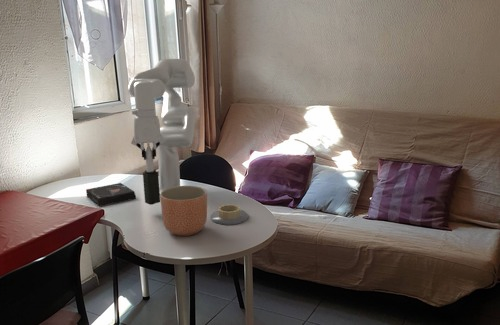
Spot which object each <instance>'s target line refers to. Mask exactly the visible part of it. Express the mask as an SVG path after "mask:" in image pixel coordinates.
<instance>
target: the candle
mask: <svg viewBox="0 0 500 325" xmlns="http://www.w3.org/2000/svg"><path fill="white" fill-rule="evenodd" d="M146 144H147V146H146V149H145V155H146V160H145V167H146V170H145V171H144V172H142V180H143V192H144V195H143V196H144V203H145V204H148V205H156V204H158V203H161V199H160V191H159V188H160V180H159V171H157V170H156V169H155V166H154V159H153V153H152V148H151V146H150V143H146Z"/></svg>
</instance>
